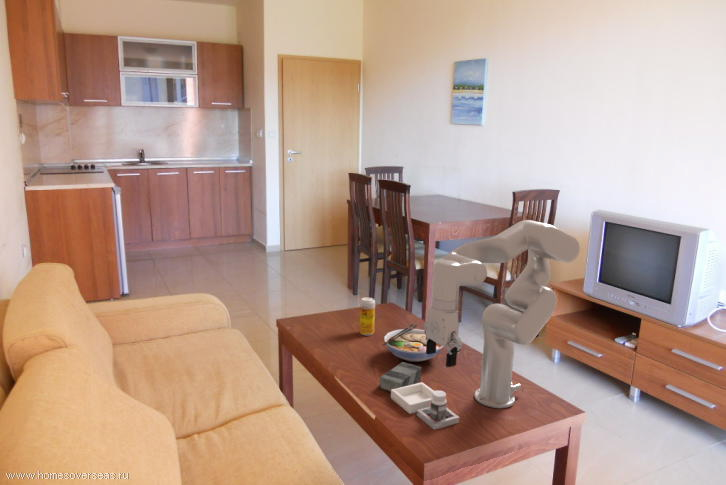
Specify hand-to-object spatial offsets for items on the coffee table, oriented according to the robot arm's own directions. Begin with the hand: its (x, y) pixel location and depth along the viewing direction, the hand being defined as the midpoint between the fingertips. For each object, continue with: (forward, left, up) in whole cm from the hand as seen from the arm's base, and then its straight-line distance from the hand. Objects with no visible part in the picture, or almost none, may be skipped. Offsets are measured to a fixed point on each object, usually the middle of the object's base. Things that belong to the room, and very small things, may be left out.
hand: (440, 359), depth 161 cm
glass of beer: (-14, -69, -19) cm, 73 cm away
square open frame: (0, 0, -19) cm, 19 cm away
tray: (0, -12, -19) cm, 22 cm away
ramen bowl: (-18, -40, -19) cm, 48 cm away
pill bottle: (0, 0, -19) cm, 19 cm away
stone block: (-2, -24, -20) cm, 31 cm away
